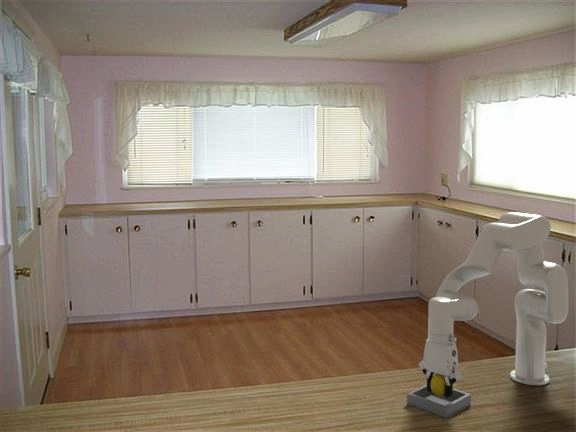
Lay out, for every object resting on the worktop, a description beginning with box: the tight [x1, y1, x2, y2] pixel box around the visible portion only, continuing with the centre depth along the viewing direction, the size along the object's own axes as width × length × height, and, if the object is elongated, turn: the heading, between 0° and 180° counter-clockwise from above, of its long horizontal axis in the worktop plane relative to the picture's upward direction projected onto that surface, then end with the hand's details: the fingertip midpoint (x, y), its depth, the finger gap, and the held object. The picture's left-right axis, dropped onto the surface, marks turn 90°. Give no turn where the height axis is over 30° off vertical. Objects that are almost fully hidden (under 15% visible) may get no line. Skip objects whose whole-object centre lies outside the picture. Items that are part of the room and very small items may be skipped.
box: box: [406, 383, 472, 420], centre depth 182 cm, size 14×14×4 cm
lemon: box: [430, 373, 446, 398], centre depth 181 cm, size 6×6×8 cm
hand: (439, 392), depth 182 cm, fingers closed on lemon, 5 cm apart
